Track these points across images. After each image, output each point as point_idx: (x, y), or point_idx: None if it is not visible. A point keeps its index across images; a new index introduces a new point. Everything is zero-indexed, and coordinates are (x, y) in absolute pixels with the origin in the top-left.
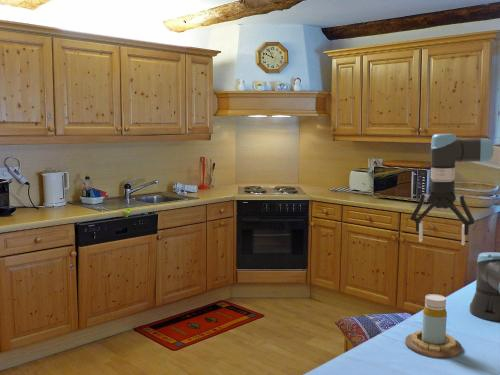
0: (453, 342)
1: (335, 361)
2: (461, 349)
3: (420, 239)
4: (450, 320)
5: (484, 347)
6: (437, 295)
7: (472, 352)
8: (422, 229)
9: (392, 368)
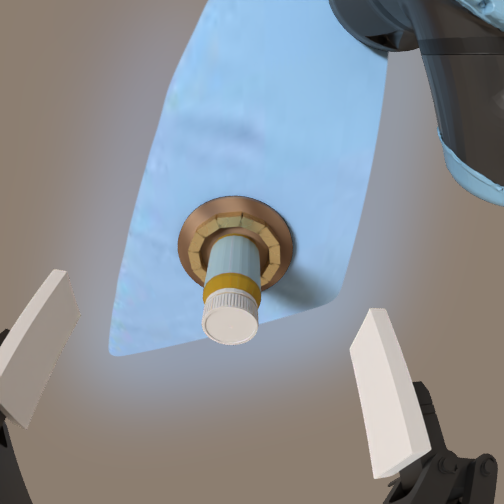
0: (276, 263)
1: (112, 338)
2: (291, 258)
3: (70, 326)
4: (272, 74)
5: (339, 220)
6: (233, 309)
7: (311, 250)
8: (28, 345)
9: (185, 338)
